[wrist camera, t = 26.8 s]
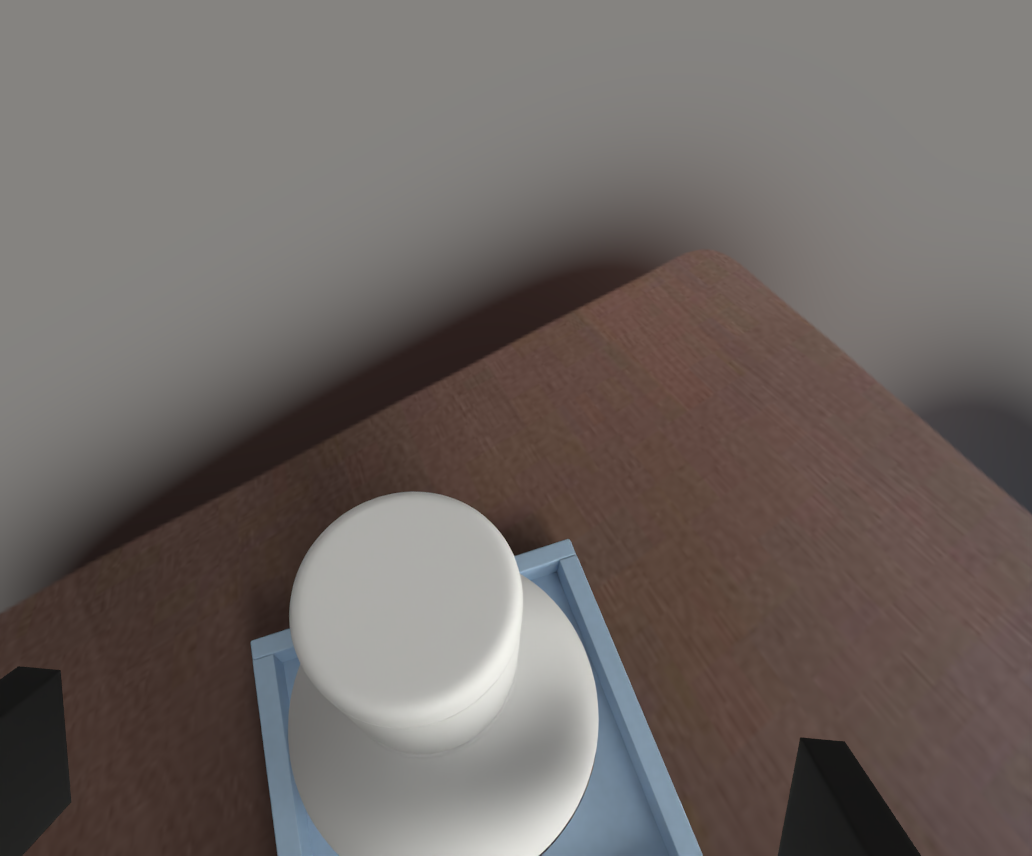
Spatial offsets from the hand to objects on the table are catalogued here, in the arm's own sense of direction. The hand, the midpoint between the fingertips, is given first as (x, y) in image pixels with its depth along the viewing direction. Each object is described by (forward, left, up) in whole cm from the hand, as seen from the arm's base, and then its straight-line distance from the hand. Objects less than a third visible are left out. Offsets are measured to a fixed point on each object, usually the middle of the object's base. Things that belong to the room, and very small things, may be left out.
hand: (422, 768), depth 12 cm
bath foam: (-1, +1, -15) cm, 15 cm away
